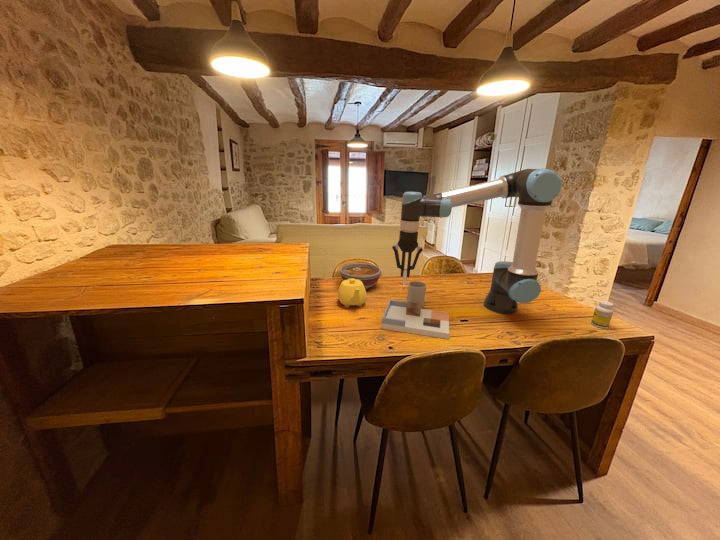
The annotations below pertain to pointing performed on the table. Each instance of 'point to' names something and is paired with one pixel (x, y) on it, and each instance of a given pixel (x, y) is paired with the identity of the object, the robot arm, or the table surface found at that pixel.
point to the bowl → (361, 273)
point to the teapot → (352, 293)
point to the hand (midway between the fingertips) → (404, 283)
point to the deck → (415, 321)
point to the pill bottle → (602, 314)
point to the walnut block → (413, 309)
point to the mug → (416, 292)
